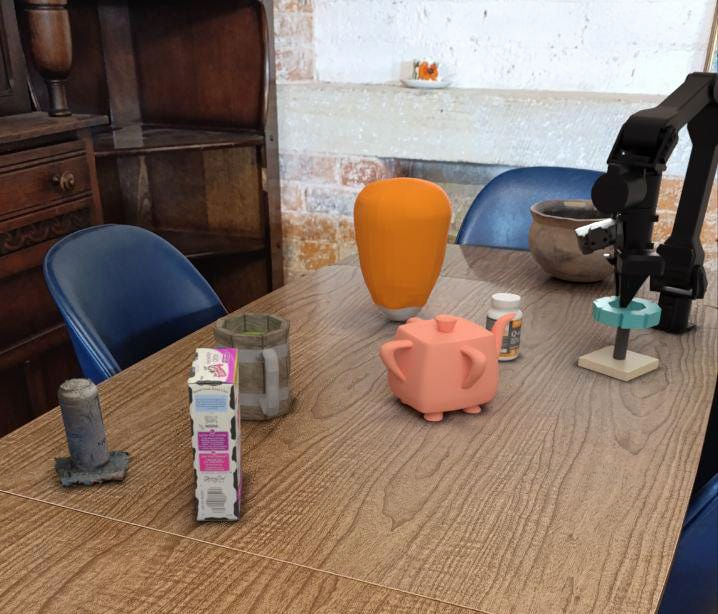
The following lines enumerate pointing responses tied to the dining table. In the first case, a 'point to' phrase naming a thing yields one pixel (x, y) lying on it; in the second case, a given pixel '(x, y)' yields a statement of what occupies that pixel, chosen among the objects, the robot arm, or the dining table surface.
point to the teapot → (444, 364)
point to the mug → (259, 361)
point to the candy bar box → (216, 433)
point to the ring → (626, 313)
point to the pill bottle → (512, 333)
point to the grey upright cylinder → (86, 437)
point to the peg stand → (619, 359)
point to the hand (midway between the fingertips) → (621, 305)
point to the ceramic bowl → (566, 240)
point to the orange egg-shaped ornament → (401, 242)
